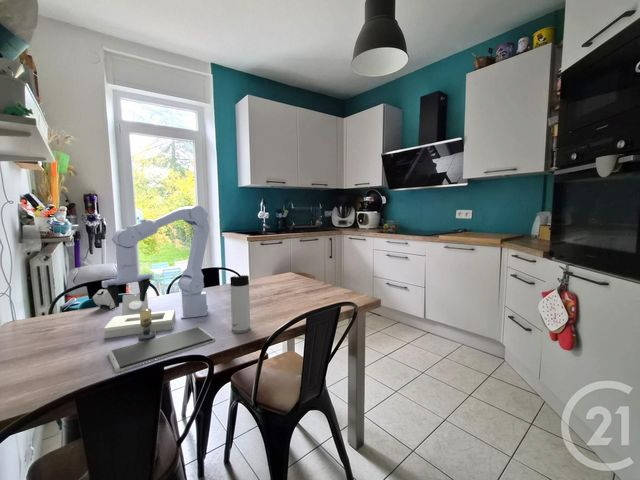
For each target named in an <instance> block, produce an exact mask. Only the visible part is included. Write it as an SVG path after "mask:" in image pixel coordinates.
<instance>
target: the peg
mask: <svg viewBox="0 0 640 480" xmlns="http://www.w3.org/2000/svg"><path fill="white" fill-rule="evenodd" d="M151 312H152V309H151V308H148V309H142V310H140V325H141V327H143V332H141V333H140V334H137V335H138V338H137V339H138V341H140V342H145V341H148V340H150V339H151V340H152V339H156V332H155V331H152V330H150V325H151V324H152V319H151Z"/></svg>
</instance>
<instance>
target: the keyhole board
mask: <svg viewBox="0 0 640 480" xmlns="http://www.w3.org/2000/svg"><path fill="white" fill-rule="evenodd" d="M151 319H152V324H151V325H150V330H152V331H155V333H156V332H163V331H169V330H171V331H172V330H173V327H174V324H175V321H176V309H171V310H162V311H161V310H160V311H153V312H152V311H151ZM103 329H104V330H103V331H104V333H103V334H104V339H109V338H116V337H125V336H131V335H139V334H140V333H141V332H143V327H141V325H140V314H133V315H124V316H122V315H117V316H113V317H112V319H110V321H109V322H108V323H107V324H106V325H105V326H104V328H103Z"/></svg>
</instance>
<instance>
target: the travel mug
mask: <svg viewBox="0 0 640 480" xmlns="http://www.w3.org/2000/svg"><path fill="white" fill-rule="evenodd" d="M249 278H250V277H249V275H247V274H246V275H240V276H235V275H233V276H230V280H229V281H230V311H231V314H230V316H231V332H232V333H234V334H244V333H247V332H249V331H250V330H251V319H250V318H251V316H250V315H251V313H250V312H251V311H250V310H251V309H250V304H251V303H250V281H249V280H250V279H249Z"/></svg>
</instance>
